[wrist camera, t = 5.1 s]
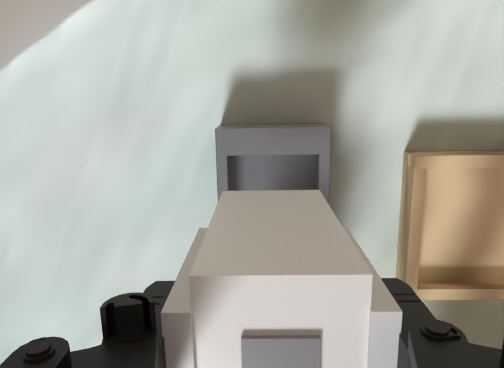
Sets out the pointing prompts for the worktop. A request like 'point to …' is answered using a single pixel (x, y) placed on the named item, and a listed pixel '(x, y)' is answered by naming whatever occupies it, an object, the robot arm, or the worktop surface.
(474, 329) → the worktop surface
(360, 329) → the block
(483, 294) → the tray
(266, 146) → the power strip
